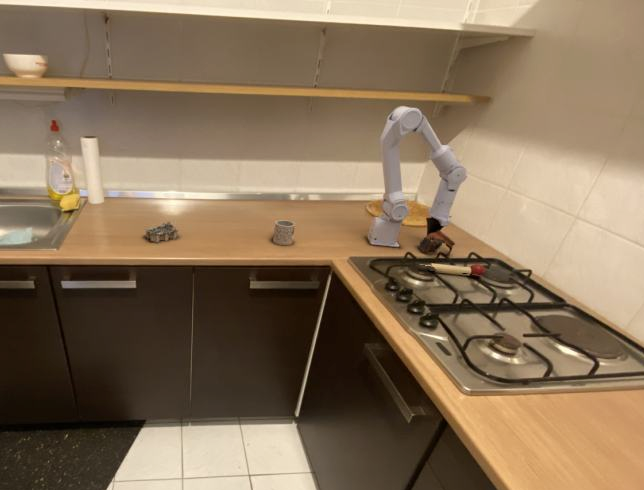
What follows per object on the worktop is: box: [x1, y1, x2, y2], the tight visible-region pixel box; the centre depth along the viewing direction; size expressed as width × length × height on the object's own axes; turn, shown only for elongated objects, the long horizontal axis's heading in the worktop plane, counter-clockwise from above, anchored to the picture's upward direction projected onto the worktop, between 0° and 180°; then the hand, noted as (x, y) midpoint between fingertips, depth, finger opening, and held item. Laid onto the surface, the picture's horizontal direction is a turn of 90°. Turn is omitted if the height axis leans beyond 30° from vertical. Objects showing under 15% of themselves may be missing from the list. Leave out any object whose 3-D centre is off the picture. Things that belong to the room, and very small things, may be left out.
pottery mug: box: [417, 230, 456, 256], centre depth 130 cm, size 12×10×8 cm
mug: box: [272, 219, 296, 246], centre depth 135 cm, size 10×7×7 cm, turn 9°
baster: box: [419, 262, 486, 278], centre depth 116 cm, size 18×4×4 cm, turn 79°
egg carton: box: [144, 221, 180, 243], centre depth 133 cm, size 11×8×4 cm
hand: (429, 239), depth 136 cm, fingers closed
